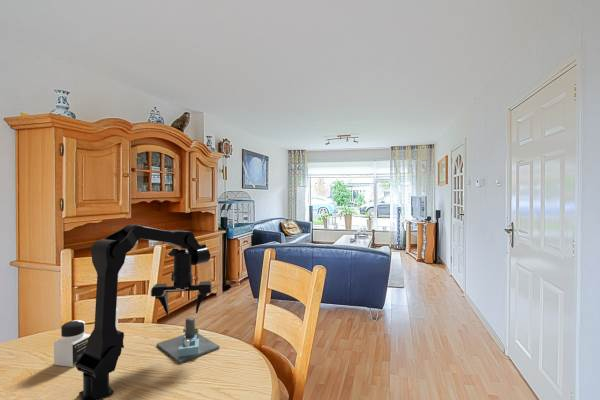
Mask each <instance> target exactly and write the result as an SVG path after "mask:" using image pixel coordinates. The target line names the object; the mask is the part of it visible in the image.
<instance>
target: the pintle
mask: <svg viewBox="0 0 600 400" xmlns="http://www.w3.org/2000/svg"><path fill="white" fill-rule="evenodd" d="M186 346H190V339H186V340H185V347H186Z"/></svg>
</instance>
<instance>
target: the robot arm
mask: <svg viewBox="0 0 600 400" xmlns="http://www.w3.org/2000/svg"><path fill="white" fill-rule="evenodd" d="M139 240H147V241H153V242H154V241H155V242H160V243H165V244H166V245H168V246H171V247H174V248H171V250H170V251H169V253H167V256H169V257H173V271H172V272H171V281H172V282H173V285H169V286H168V285H167V284H168V283H164V282H163V283H156V284H154V285H153V286H152V288H151V290H150V297H155V299H156V300H159V302H160V303H161V305H162V307H163V309H164V311H165V314H166V316H169V314H170V306H169V293H173V292H175V293H176V292H193V291H194V292H196V291H198V293H197V298H196V306H195V314H198V313H199V310H200V306H201V302H202V300H203V299H204V297H207V296H208V294H211V293H212V282H211V281H210V280H209V281H199V283H198V284H193V283H194V281H193V278H194V276H193V273H192V268H193V266H197V265H200V264H205V263H208V262H209V261H210V259H211V253H210V250H209V249H208V248H207V244H204V243H201V244H199V242H198V240H197V238H196V236H195V234H194V232H193V231H190V230H180V229H179V230H178V229H175V230H174V229H173V230H172V229H171V230H165V229H160V228H156V227H155V228H153V227H150V226H149V227H148V226H144V225H143V226H142V225H141V224H133V223H132V224H131V223H129V224H126V225H124V227H122V228H121V229H119V230H117V231H114V232H113V233H111V234H109V235H107V236H106V237H105V238H102V239H98V240H97V241H95V242H94V244H92V246H91V250H90V254H91V262H92V265H93V267H94V270H95V272H96V294H95V311H94V312H95V313H94V328H93V330H92V332H91V333H90V334H91V335H90V336H89V338H88V342H87V346H86V350H85V352H84V353H83V354H82V356H81V357H80V358H79V360H78V361H77V362H76V364H75V366H74V367H75V368H76V370H77V371H78V372H81V373H82V389H83V390H81V391H79V392H78V395H79V397H80V399H81V400H102V399H104V398H106V397H109V396H111V395H113V394H114V393H115V392H114V390H113V388H112V387H111V385H110V373H112V372H114V371H115V370H116V367H117V363H118V360H119V357H121V354H122V350H123V349H124V348H125V345H124V338H125V333H124V332H123V331H121V330H119V329H118V330H117V329H116V308H117V306H118V305H117V303H118V285H119V284H118V283H119V272H120V271H121V269H122V268H123V267H124V264H125V262H126V261H125V260H126V258H127V257H126V256H127V254H128V252H130V251H131V250H133V248H135V245H136V244H137V242H138V241H139ZM178 248H179V249H178Z"/></svg>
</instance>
